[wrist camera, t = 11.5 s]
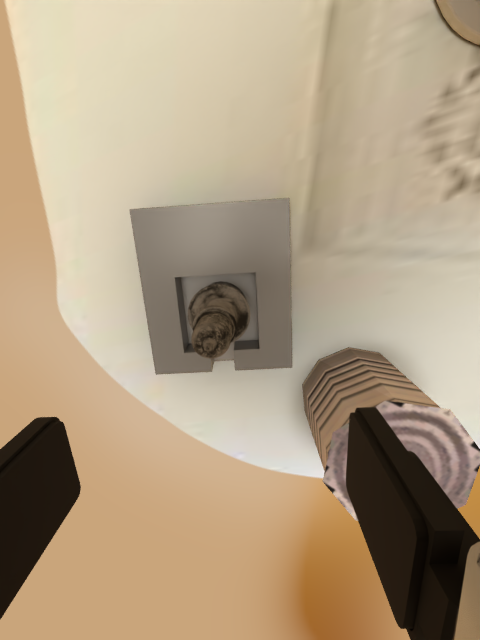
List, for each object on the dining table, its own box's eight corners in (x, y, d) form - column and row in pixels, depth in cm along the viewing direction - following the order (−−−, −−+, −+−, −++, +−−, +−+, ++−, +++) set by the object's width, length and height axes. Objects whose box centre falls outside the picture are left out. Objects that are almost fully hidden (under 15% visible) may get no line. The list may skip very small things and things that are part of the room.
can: (341, 451, 36) (386, 552, 25) (279, 390, 34) (297, 470, 23) (420, 394, 34) (510, 477, 22) (359, 325, 32) (424, 378, 20)
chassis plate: (141, 211, 29) (129, 209, 26) (284, 201, 28) (289, 197, 25) (163, 362, 33) (155, 374, 30) (288, 355, 33) (292, 367, 30)
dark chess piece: (185, 288, 30) (149, 321, 19) (240, 271, 30) (236, 294, 18) (204, 339, 32) (182, 399, 20) (256, 324, 31) (263, 376, 20)
